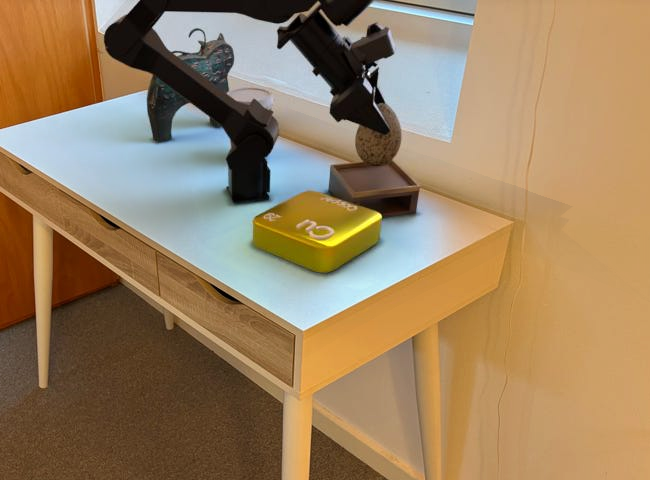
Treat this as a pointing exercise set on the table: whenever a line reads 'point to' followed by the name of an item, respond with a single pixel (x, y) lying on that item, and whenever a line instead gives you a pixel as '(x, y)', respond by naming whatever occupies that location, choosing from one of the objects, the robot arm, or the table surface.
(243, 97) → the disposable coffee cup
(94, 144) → the table surface
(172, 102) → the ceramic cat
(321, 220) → the element tile
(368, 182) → the shallow square tray
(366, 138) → the decorative egg
